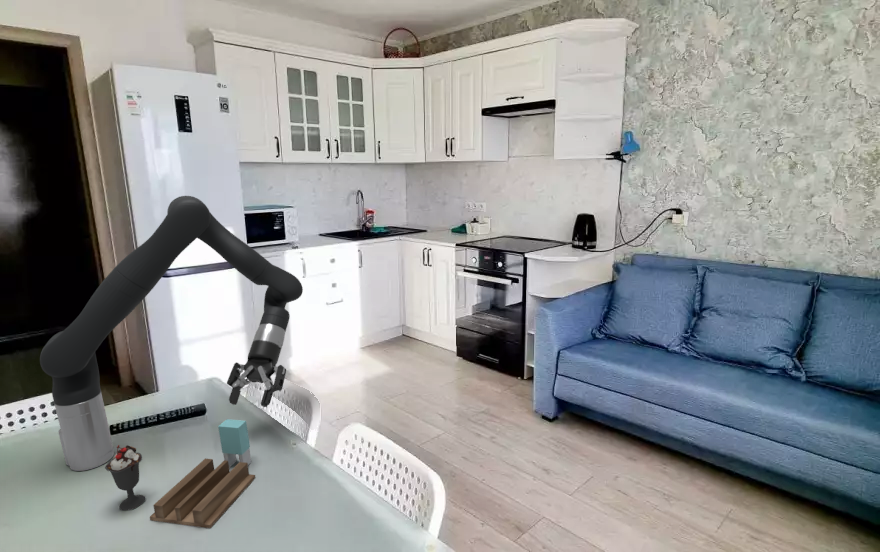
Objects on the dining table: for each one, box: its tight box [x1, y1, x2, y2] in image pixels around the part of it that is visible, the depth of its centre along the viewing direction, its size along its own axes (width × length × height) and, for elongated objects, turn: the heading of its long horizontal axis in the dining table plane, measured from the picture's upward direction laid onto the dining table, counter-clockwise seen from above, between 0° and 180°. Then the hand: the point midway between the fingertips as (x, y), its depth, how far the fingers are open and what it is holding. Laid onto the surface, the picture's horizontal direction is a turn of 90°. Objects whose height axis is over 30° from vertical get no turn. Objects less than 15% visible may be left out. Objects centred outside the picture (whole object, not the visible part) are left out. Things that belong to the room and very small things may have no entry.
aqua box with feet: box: [217, 418, 252, 469], centre depth 117 cm, size 5×3×11 cm, turn 78°
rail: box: [149, 457, 256, 529], centre depth 106 cm, size 14×16×4 cm
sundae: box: [104, 444, 147, 512], centre depth 104 cm, size 7×7×15 cm
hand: (248, 405), depth 122 cm, fingers open, 8 cm apart
